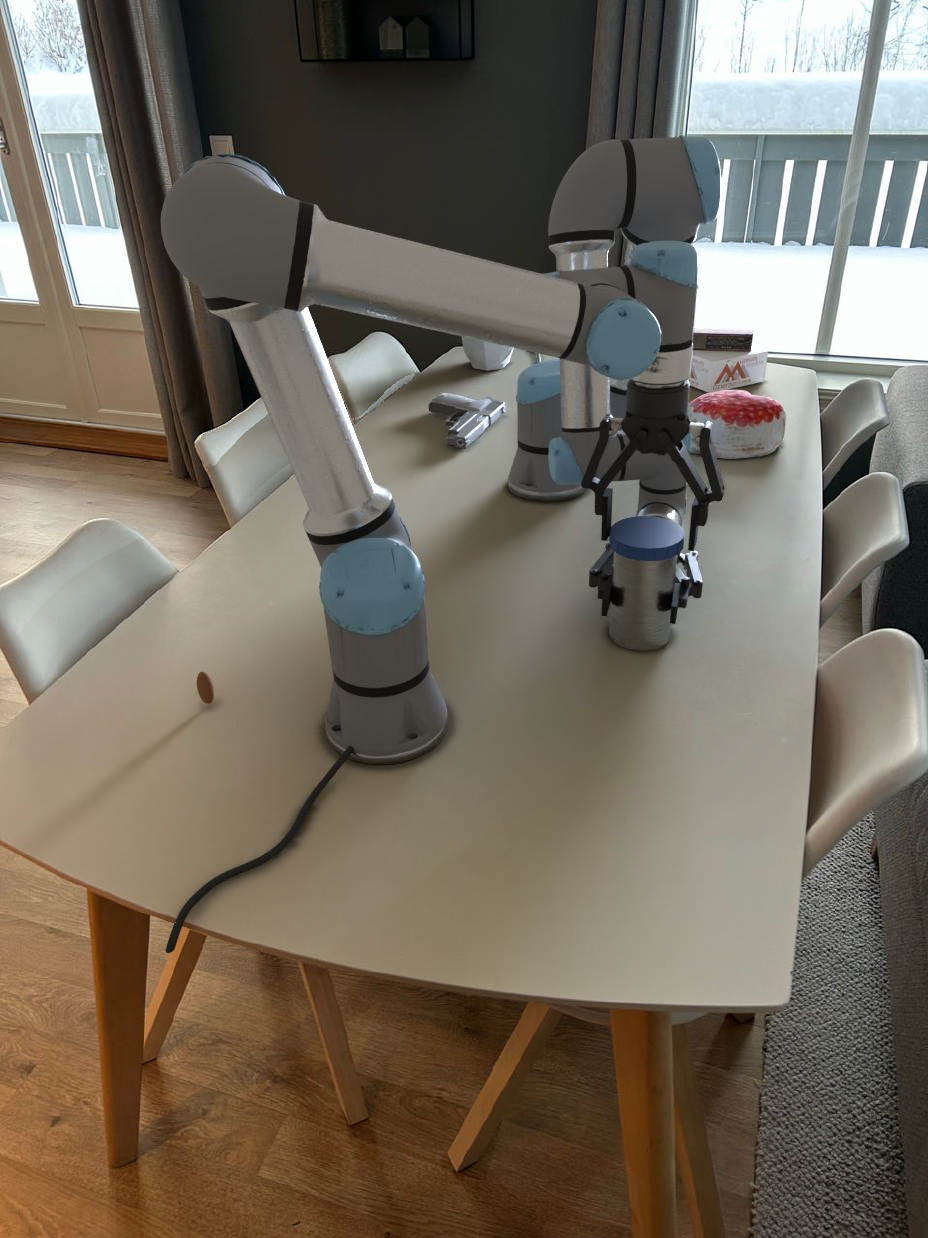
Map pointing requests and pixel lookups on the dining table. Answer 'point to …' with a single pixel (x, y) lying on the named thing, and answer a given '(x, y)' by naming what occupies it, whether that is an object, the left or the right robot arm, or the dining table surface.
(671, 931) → the dining table surface
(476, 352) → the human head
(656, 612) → the jar
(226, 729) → the dining table surface
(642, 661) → the dining table surface
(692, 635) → the dining table surface
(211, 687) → the brown oval piece
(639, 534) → the lid
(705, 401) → the cake
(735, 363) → the white cardboard box
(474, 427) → the pistol
